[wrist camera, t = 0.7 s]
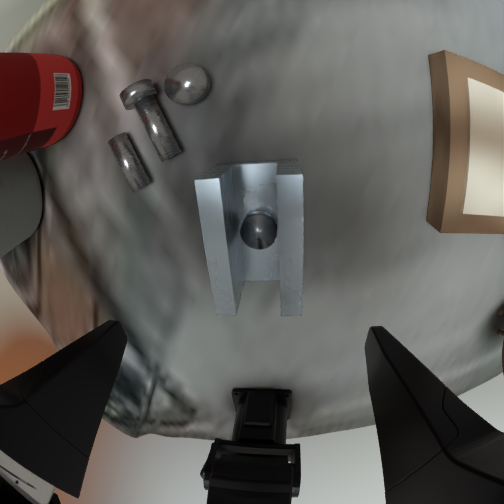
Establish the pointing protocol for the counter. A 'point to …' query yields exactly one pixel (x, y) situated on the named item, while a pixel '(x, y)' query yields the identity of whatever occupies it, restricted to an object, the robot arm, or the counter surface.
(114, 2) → the counter surface
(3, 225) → the water bottle
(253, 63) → the counter surface
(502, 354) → the alarm clock
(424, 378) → the robot arm
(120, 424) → the counter surface
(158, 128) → the loose bolts
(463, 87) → the picture frame
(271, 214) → the housing
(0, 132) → the canned food
